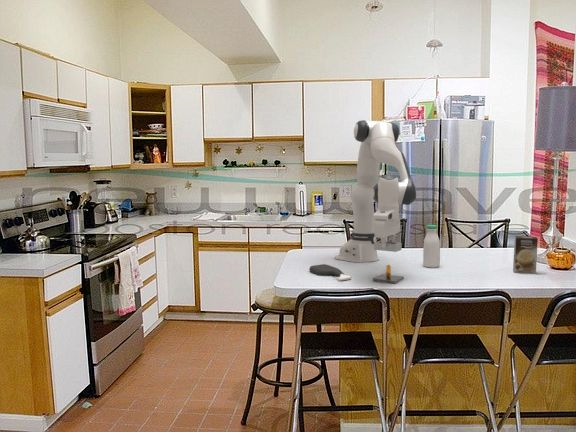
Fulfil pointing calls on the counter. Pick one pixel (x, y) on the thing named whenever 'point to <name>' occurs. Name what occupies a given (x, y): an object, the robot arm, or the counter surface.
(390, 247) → the grey open tray
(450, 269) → the counter surface
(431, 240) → the milk bottle
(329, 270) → the drumstick
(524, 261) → the coffee box
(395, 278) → the keeper
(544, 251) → the counter surface
